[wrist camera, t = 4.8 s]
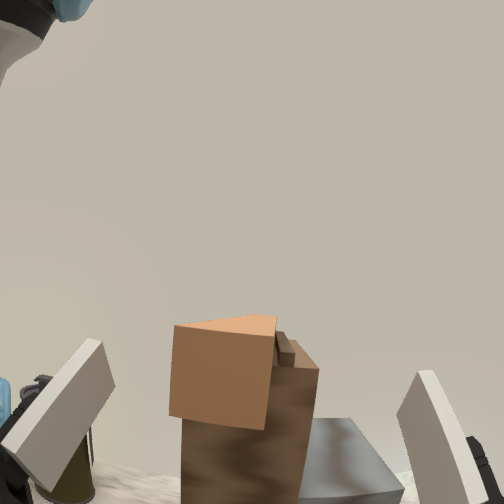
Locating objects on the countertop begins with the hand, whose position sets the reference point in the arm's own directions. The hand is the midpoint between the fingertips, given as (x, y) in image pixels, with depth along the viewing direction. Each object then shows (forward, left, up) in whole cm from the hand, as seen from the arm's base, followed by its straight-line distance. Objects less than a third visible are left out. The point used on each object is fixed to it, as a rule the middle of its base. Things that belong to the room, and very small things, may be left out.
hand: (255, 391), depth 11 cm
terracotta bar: (-1, +12, 0) cm, 12 cm away
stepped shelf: (+4, +18, -30) cm, 36 cm away
